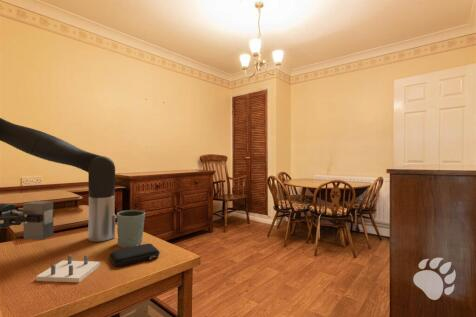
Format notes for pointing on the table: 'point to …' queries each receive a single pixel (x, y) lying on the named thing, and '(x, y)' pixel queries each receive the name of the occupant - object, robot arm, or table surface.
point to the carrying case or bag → (133, 255)
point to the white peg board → (69, 270)
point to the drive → (43, 228)
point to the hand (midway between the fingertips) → (47, 216)
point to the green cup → (130, 227)
